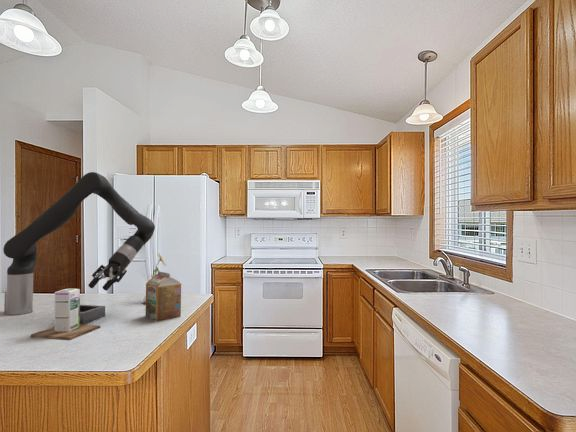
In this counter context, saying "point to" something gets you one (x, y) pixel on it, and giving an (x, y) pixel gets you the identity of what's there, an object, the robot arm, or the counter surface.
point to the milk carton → (163, 297)
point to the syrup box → (67, 310)
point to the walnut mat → (65, 335)
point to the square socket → (91, 313)
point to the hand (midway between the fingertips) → (97, 288)
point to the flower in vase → (156, 270)
